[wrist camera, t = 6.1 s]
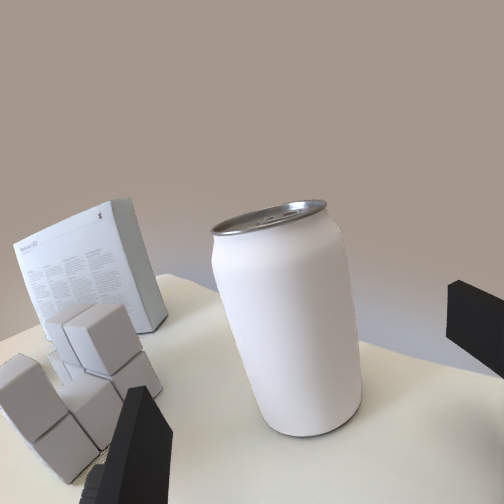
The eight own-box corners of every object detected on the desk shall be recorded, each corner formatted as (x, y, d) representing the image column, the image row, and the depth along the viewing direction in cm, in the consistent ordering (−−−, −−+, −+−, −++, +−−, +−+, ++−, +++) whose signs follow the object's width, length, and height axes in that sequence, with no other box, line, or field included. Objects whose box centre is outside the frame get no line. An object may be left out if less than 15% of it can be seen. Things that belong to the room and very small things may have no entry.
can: (258, 385, 20) (207, 222, 17) (344, 360, 20) (315, 194, 17) (266, 452, 14) (191, 246, 11) (377, 419, 14) (357, 203, 11)
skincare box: (171, 312, 38) (132, 194, 34) (155, 333, 33) (108, 200, 29) (66, 326, 42) (32, 236, 38) (47, 342, 37) (9, 244, 33)
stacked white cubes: (87, 368, 27) (56, 302, 25) (164, 388, 22) (124, 302, 20) (11, 428, 17) (-34, 357, 15) (68, 485, 12) (-7, 393, 10)
